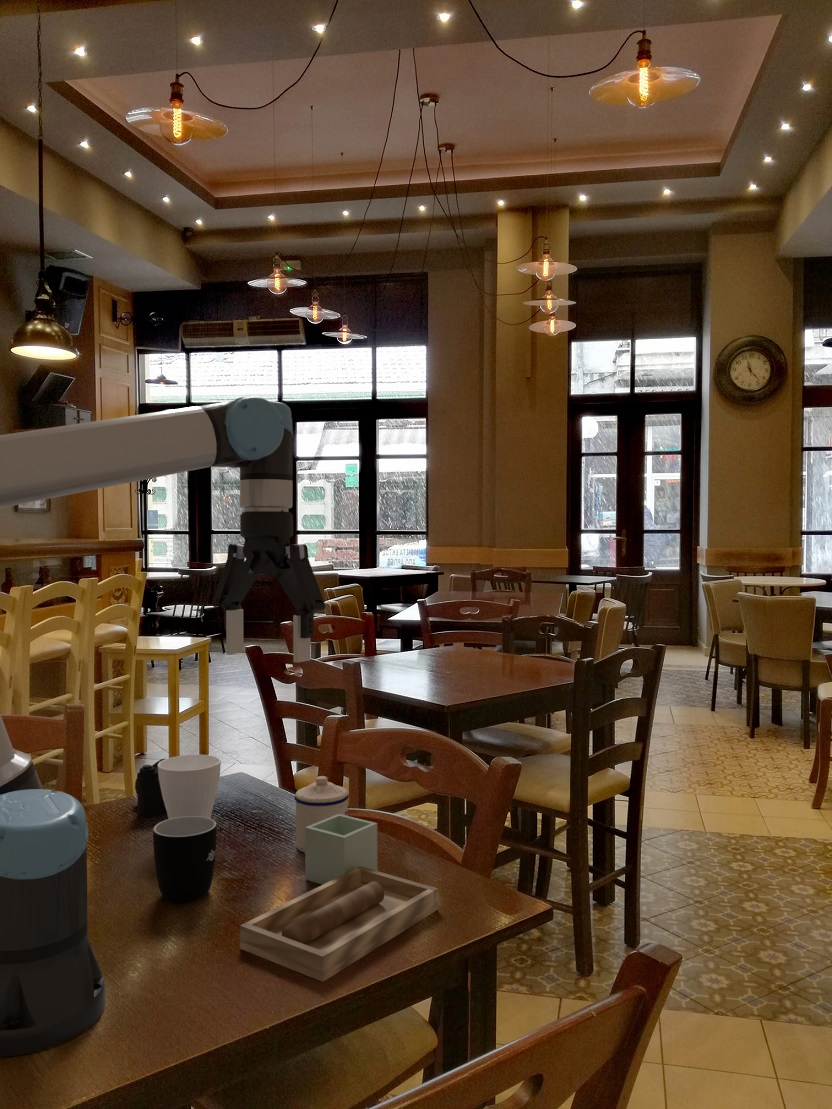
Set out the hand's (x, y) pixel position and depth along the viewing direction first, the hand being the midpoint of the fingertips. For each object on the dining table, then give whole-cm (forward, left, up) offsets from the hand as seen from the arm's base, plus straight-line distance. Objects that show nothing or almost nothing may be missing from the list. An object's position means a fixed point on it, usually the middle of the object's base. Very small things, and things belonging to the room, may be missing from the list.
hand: (267, 657), depth 126 cm
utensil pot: (+11, -5, -35) cm, 37 cm away
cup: (+8, +27, -35) cm, 45 cm away
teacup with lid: (+20, +8, -35) cm, 41 cm away
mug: (-6, +11, -35) cm, 37 cm away
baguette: (+5, -16, -34) cm, 38 cm away
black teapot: (+18, +46, -35) cm, 60 cm away
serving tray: (-2, -16, -35) cm, 38 cm away
